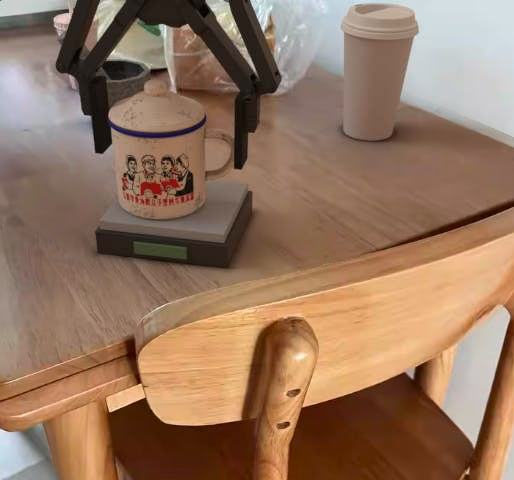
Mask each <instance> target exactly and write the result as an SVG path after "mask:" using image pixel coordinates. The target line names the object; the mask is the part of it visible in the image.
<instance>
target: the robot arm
mask: <svg viewBox="0 0 514 480" xmlns="http://www.w3.org/2000/svg"><path fill="white" fill-rule="evenodd" d="M223 2H225V3H228V5H229V9H230V13H231V15H232V18H233V21H234V23H235V25H236V28H237V30H238V32H239V34H240V36H241V39H242V41H243V43H244V46H245V48H246V50H247V53H248V55H249V58H250V60H251V62H252V64H253V68H254V69H255V71H256V72H255V71H254V69H253V68H252V66H251V65H250V63H248V60H247V59H246V58H245V57H244V55H243V54H242V52H241V51H240V50H239V49H238V47H237V46H236V44H235V43H234V42H233V40H232V39H231V38H230V36H229V35H228V33H227V32H226V31H225V29H224V28H223V26H222V25H221V24H220V22H219V20H218V18H217V16H216V14H215V12H214V11H213V9H212V8H211V7H210V5H209V4H208V2H207V0H125V2H124V3H123V5H121V7H120V8H119V9H118V11H117V12H116V14H115V16H114V17H113V20H111V23H110V24H109V25H108V27H106V29H105V31H104V32H103V34H102V35H101V36H100V37H99V39H97V43H96V45H95V46H94V47H93V49H92V50H91V51H90V53H89V54H88V56H87V57H86V58H85V60H82V59H80V55H81V53H82V50H83V47H84V44H85V42H86V39H87V36H88V33H89V30H90V28H91V25H92V22H93V19H94V17H95V15H97V12H98V8H99V5H100V3H101V0H76V2H75V5H74V7H73V14H72V16H71V19H70V22H69V25H68V28H67V31H66V34H65V37H64V40H63V43H62V46H61V45H60V49H59V52H58V55H57V58H56V61H55V66H54V67H55V70H56V71H57V72H58V73H60V74H67V75H68V76H69V75H71V76H73V77H75V78H76V80H77V81H78V85H79V93H80V95H79V99H80V109H81V112H82V113H83V116H88V117H90V119H91V128H92V136H93V146H94V154H97V155H98V154H99V155H103V154H104V153H105V152H107V150H108V149H109V148H110V147H111V146H112V145H113V142H112V132H111V126H110V125H109V124H108V119H107V118H108V115H109V102H108V91H107V81H106V76H97V77H96V73H97V72H98V71H99V69H100V67H101V66H102V65H103V63H104V62H105V61H106V59H109V57H110V55H112V53H113V52H114V50H115V49H116V48H117V46H118V45H119V44H120V42H121V41H122V40H123V38H124V37H125V36H126V34H127V33H128V31H129V30H130V29H131V28H132V27H133V25H134V24H135V22H136V21H137V20H140V21H141V22H142V23H144V26H151V27H155V26H160V25H164V26H167V27H169V28H174V29H181V28H182V27H184V26H187V25H188V27H189V28H190V29H191V31H192V32H193V33H194V34H195V35H196V36H197V37H199V38H200V39H201V41H202V42H203V43H204V45H206V47H207V48H208V50H209V51H210V52H211V54H212V55H213V57H214V58H215V59H216V60H217V62H218V63H219V64H220V66H221V67H222V69H223V70H224V71H225V73H226V74H227V75H228V76H229V78H230V79H231V81H232V82H233V84H234V85H235V86H236V87H237V88H238V90H239V91H238V94H237V95H236V97H235V99H234V120H233V121H234V125H233V127H234V128H233V131H234V132H233V137H234V167H233V170H240V171H241V170H243V168H244V167H245V165H246V162H247V161H248V157H249V133H250V134H255V133H256V130H257V129H258V126H259V124H260V123H261V121H260V120H261V119H260V117H261V97H262V96H263V95H267V94H268V95H273V94H275V93H276V92H277V90H278V89H279V86H280V85H281V83H282V80H283V78H282V74H281V72H280V69H279V66H278V64H277V62H276V59H275V57H274V54H273V52H272V50H271V48H270V44H269V42H268V40H267V38H266V35H265V33H264V31H263V28H262V26H261V23H260V21H259V18H258V16H257V14H256V10H255V8H254V6H253V4H252V2H251V0H223Z"/></svg>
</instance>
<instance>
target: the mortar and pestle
mask: <svg viewBox="0 0 514 480" xmlns="http://www.w3.org/2000/svg"><path fill="white" fill-rule="evenodd" d="M66 31H67V30H66ZM66 31H64V32H63V33H62V34H61V35H60V36H59V35H58V37H57V41H58V43H59V45H60V46H61V45H62V43H63V40H64V37H65V34H66ZM89 53H90V51H89V50H88V48H87V47H86V46H85V44H84V47H83V50H82V53H81V55H80V59H82V60H85V58H86V57H87V56H88V54H89ZM97 76H106V81H107V91H108V102H109V111H110V109H111V108H112V106H113V105H114V104H116V103H117V102H119V101H121V100H123V99H126V98H129V97H133V96H134V95H135V94H137V93H139V92H141V91H144V85H145V83H146V82H147V81H149V80H152V74H151V69H150V68H149V67H148V66H147V65H146V64H145V63H144V62H140V61H137V60H136V61H135V60H130V59H127V58H126V59H125V58H123V59H122V58H121V59H118V58H117V59H115V58H114V59H113V58H112V59H109V58H107V59H106V61H105V62H104V63H103V65H102V66H101V67H100V69H99V71H98V72H97V73H96V77H97ZM74 81H75V85H76V88H77V90H76V92H77V94H78V96H80V93H79V85H78V81H77V80H76V78H75V77H74Z"/></svg>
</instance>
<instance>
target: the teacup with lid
mask: <svg viewBox="0 0 514 480" xmlns="http://www.w3.org/2000/svg"><path fill="white" fill-rule="evenodd" d="M207 118H208V117H207V114H206V111H205V109H204V107H203V106H202V104H201V103H199V102H198V101H197V100H195V99H193V98H190V97H188V96H184V95H180V94H178V93H176V92H174V91H172V90H169V89H168V87H167V84H166V82H165V81H164V80H161V79H151V80H149V81H147V82H146V83H145V85H144V91H141V92H139V93H137V94H135V95H134V96H133V97H129V98H126V99H123V100H121V101H119V102H117V103H116V104H114V105H113V106H112V108H111V109H110V111H109V115H108V118H107V119H108V124H109V125H110V126H111V134H112V151H113V159H114V168H115V176H116V177H115V179H116V188H117V197H118V198H119V203H120V205H121V206H122V208H123V209H124V210H126V211H127V212H129V213H130V214H133V215H135V216H138V217H142V218H147V219H159V220H161V219H173V218H179V217H183V216H186V215H189V214H191V213H193V212H195V211H197V210H198V209H199V208H200V207H201V206H202V205H203V204H204V202H205V200H206V181H208V180H220V179H222V178H225V177H227V176H228V175H229V174H230V173H231V172H232V171H233V170H234V135H233V134H231V133H230V132H229V131H227V130H225V129H222V128H216V127H213V128H210V127H209V128H206V127H205V124H206V122H207ZM206 139H218V140H222V141H224V142H225V143H226V144H228V146H229V148H230V154H229V156H228V158H227V161H226V162H225V164H224V165H223V166H221V167H220V168H217V169H213V170H206V145H205V142H206V141H205V140H206Z"/></svg>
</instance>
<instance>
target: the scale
mask: <svg viewBox="0 0 514 480" xmlns="http://www.w3.org/2000/svg"><path fill="white" fill-rule="evenodd" d="M252 213H253V190H249V183H248V182H237V181H227V180H219V179H217V180H208V181H206V200H205V202H204V204H203V205H202V206H201V207H200V208H199V209H198V210H197V211H195V212H193V213H191V214H189V215H186V216H183V217H179V218H173V219H161V220H159V219H147V218H142V217H138V216H135V215H133V214H130V213H129V212H127V211H126V210H124V209H123V208H122V206H121V205H120V203H119V198H118V196H117V197H116V198H115V200H114V201H112V203H111V204H110V206H109V207H108V208H107V210H106V211H105V212H104V213H103V215H102V216H101V217H100V219H99V220H98V221H99V225H98V226H97V228H96V229H95V231H94V236H95V243H96V251H97V253H98V254H106V255H113V256H122V257H132V258H139V259H149V260H155V261H156V260H157V261H164V262H172V263H182V264H189V265H198V266H199V265H200V266H207V267H215V268H224V269H228V267H229V265H230V263H231V261H232V259H233V256H234V254H235V252H236V249H237V247H238V245H239V243H240V240H241V238H242V235H243V234H244V231H245V228H246V226H247V225H248V222H249V220H250V217H251V214H252Z"/></svg>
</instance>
